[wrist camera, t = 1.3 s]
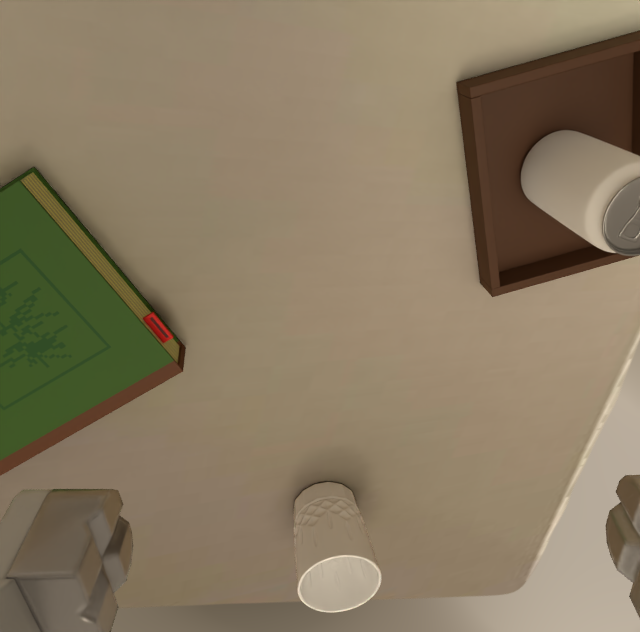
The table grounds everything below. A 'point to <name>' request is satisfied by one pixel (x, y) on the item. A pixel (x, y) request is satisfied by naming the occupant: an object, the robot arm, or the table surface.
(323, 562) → the white cup
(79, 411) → the hardcover book
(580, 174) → the can
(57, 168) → the table surface
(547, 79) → the tray
